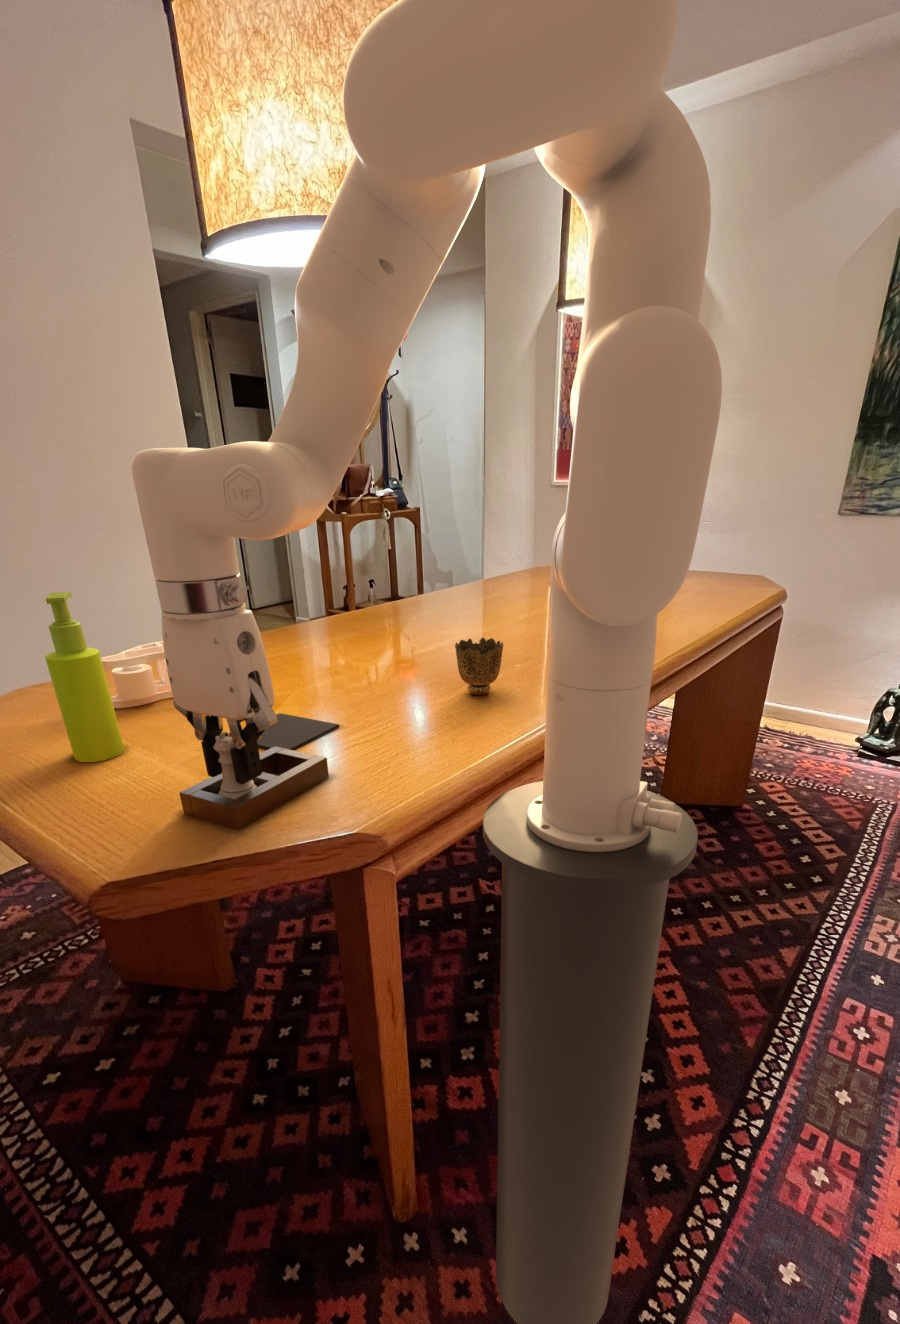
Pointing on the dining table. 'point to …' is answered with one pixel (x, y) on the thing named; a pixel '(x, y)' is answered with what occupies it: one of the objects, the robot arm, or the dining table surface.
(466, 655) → the cup
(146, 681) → the skeletal toy car
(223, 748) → the rook chess piece
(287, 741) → the coaster
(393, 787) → the dining table surface
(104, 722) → the soap dispenser
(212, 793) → the holder
